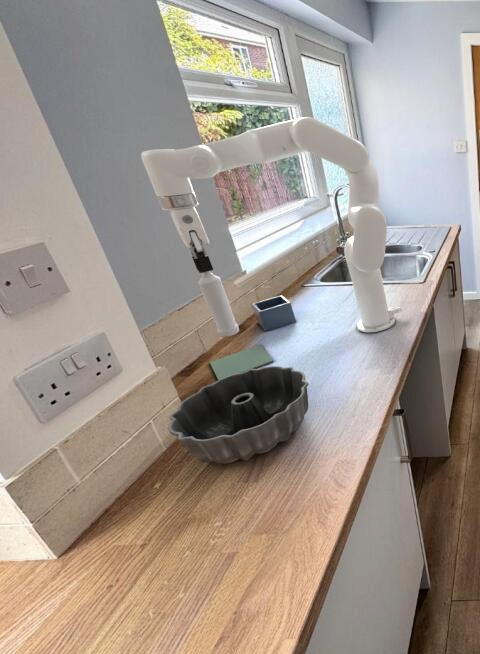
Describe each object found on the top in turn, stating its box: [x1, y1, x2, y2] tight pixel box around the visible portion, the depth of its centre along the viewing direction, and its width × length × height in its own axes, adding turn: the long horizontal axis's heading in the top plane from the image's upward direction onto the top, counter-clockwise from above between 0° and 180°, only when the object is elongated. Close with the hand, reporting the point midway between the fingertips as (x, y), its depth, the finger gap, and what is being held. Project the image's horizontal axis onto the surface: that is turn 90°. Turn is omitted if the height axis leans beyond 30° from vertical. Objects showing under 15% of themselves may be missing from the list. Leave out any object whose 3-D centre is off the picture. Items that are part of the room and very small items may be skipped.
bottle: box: [197, 271, 240, 338], centre depth 112 cm, size 5×5×25 cm
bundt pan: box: [167, 365, 310, 464], centre depth 91 cm, size 26×26×10 cm
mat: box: [209, 344, 274, 381], centre depth 122 cm, size 14×14×1 cm
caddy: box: [251, 295, 297, 332], centre depth 145 cm, size 10×10×8 cm
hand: (205, 269), depth 109 cm, fingers closed on bottle, 2 cm apart
